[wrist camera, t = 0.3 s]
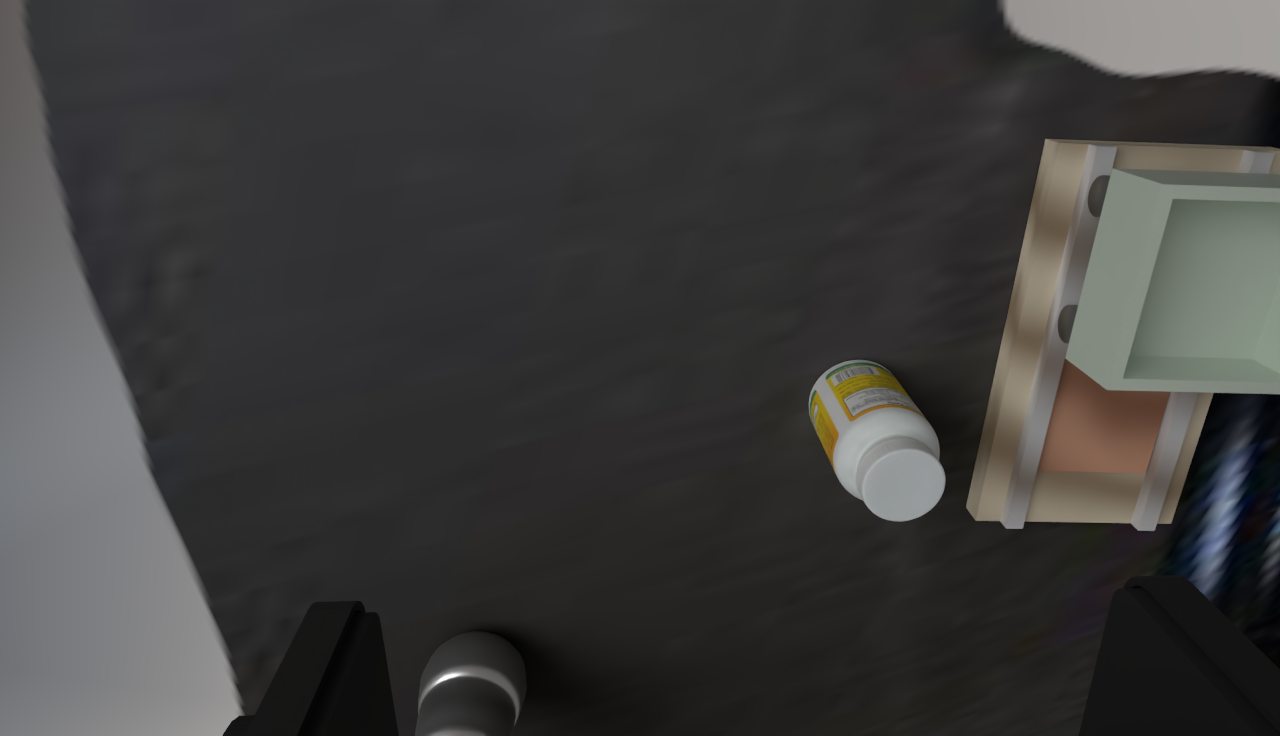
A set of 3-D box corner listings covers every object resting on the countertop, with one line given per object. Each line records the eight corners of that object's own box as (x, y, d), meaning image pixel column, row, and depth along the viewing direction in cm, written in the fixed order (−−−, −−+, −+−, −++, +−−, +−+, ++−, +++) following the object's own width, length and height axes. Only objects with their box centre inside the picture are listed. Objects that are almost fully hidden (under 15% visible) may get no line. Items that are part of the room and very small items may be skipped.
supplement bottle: (846, 339, 48) (900, 414, 39) (917, 388, 49) (985, 471, 40) (787, 412, 49) (825, 499, 41) (857, 457, 51) (909, 551, 42)
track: (1045, 138, 44) (1067, 145, 42) (1271, 147, 44) (1304, 153, 42) (965, 507, 52) (981, 528, 50) (1156, 510, 53) (1179, 531, 51)
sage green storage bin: (1090, 161, 42) (1163, 184, 36) (1279, 168, 42) (1379, 191, 37) (1046, 344, 46) (1106, 390, 40) (1221, 348, 46) (1304, 394, 40)
